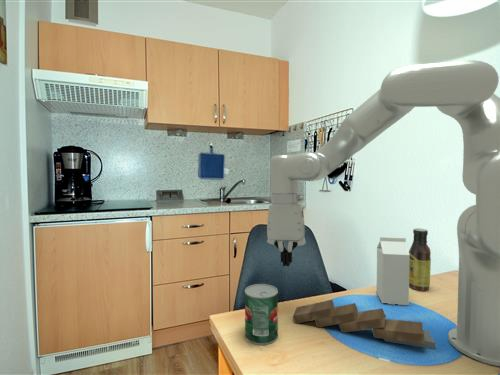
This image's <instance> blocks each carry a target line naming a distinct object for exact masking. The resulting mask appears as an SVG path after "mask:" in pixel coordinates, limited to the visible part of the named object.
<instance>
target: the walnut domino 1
mask: <svg viewBox="0 0 500 375" xmlns="http://www.w3.org/2000/svg"><path fill="white" fill-rule="evenodd" d="M335 307H336V306H335V304H334V301H333V299H329V300H328V299H327V300H325V301H320V302H315V303H311V304H306V305H302V306H301V305H300V306H297V307H296V308H295V310H294V312H293V314H292V318H293V321H294V323H295V324H300V323H306V322H310V321H315V320H316V319H322V318H327V317H332V316H333V315H334V310H335Z"/></svg>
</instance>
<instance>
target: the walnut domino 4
mask: <svg viewBox="0 0 500 375" xmlns="http://www.w3.org/2000/svg"><path fill="white" fill-rule="evenodd" d="M423 330H424V326H423V322H421V321H411V320H410V321H409V320H401V319H390V318H389V319H387V318H386V319H385V325H384V327H383V328H375V329H372V334H373V338H375V339H376V338H377V339H382V340H383V339H391V340H400V341H408V342H416V343H424V344H425V340H424V333H423Z"/></svg>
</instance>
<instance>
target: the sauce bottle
mask: <svg viewBox="0 0 500 375" xmlns="http://www.w3.org/2000/svg"><path fill="white" fill-rule="evenodd" d="M412 230H413V231H412V233H413V240H412V244H411V246H410V247H409V249H408V251H409V254H410V258H409V288H411V289H413V290H416V291H420V292H421V291H422V292H426V291H428V290H430V285H431V265H432V264H431V260H432V258H431V255H432V254H431V249H430V247H429V246H428V241H427V239H428V235H429V232H428V231H429V230H428V229H426V228H418V227H417V228H413V229H412Z"/></svg>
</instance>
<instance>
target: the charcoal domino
mask: <svg viewBox="0 0 500 375" xmlns="http://www.w3.org/2000/svg"><path fill="white" fill-rule="evenodd" d="M423 333H424V340H425V344H424V343H416V342H408V341H400V340H391V339H384V342H386V343H387V342H388V343H394V344H401V345H407V346H413V347H420V348H425V349H431V350H436V341H435V339H434V338H433V336H432V335H431V332H430V330H427V329H423Z"/></svg>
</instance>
